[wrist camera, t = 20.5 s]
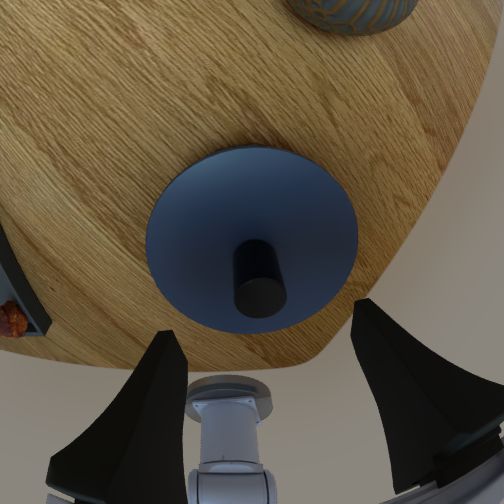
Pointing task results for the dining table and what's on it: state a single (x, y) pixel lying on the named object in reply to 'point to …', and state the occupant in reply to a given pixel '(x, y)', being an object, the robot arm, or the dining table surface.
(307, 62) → the dining table surface
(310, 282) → the tin lid
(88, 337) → the dining table surface
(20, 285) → the tray
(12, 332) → the meatball
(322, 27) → the vase
